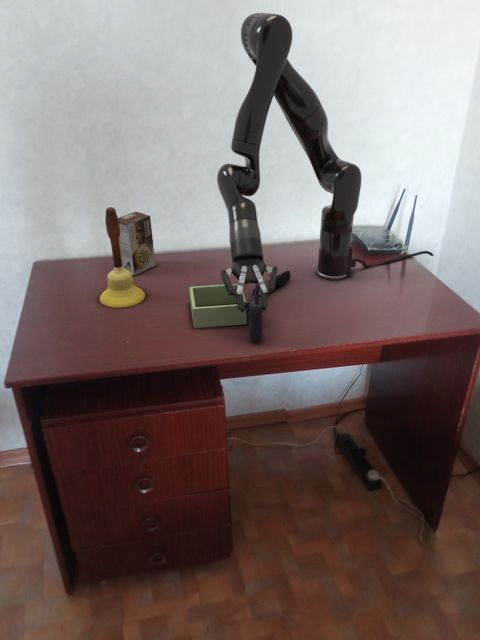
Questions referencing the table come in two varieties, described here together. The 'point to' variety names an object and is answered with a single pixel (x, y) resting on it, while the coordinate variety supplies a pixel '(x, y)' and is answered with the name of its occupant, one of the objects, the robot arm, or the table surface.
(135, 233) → the coffee box
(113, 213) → the handbell
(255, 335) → the two-way radio
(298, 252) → the table surface
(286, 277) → the electric trimmer
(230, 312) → the square frame
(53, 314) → the table surface
